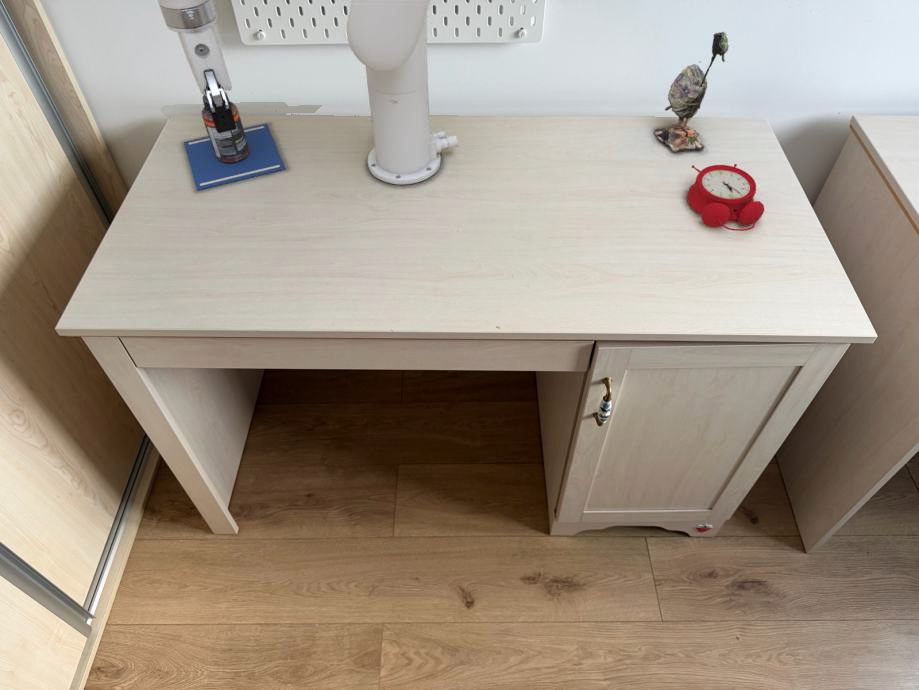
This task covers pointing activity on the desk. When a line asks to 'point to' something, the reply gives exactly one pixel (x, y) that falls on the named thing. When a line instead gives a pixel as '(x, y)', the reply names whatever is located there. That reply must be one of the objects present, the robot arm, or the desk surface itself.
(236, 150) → the supplement bottle
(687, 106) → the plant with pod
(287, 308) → the desk surface
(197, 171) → the napkin
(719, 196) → the alarm clock
